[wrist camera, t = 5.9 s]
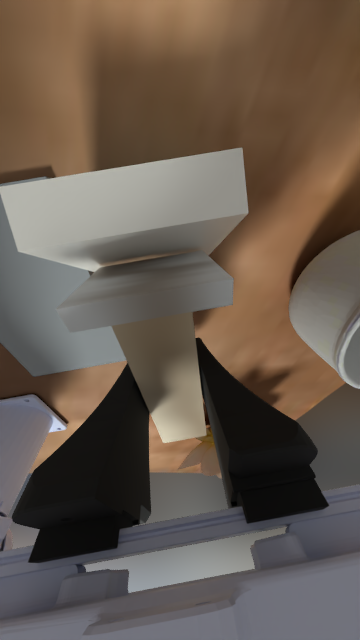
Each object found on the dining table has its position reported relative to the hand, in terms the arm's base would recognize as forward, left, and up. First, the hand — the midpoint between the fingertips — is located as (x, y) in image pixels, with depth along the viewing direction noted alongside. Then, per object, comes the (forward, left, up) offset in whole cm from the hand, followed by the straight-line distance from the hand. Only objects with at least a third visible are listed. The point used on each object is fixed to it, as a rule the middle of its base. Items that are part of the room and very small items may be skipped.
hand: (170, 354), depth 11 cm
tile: (0, +6, -5) cm, 8 cm away
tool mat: (-10, +3, -5) cm, 12 cm away
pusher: (0, 0, -2) cm, 2 cm away
